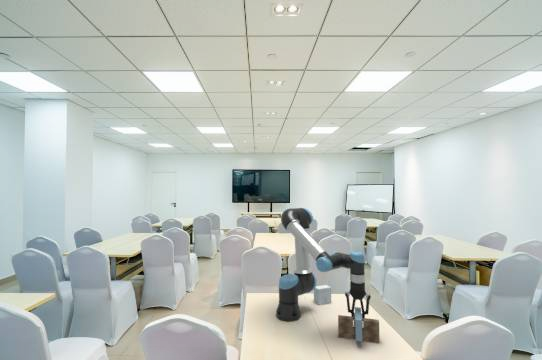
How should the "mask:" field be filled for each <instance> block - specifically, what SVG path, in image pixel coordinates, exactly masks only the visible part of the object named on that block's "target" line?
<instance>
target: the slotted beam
mask: <svg viewBox="0 0 542 360" xmlns="http://www.w3.org/2000/svg"><path fill="white" fill-rule="evenodd" d="M337 315H338V316H337V324H338V325H337V328H338V329H337V333H338V335H337V336H338V338H343V339H349V340H355V341H356V327H354V320H353V317H351V316H350V315H349V316H348V315H342V314H337ZM363 341H364V342H369V343H376V344H380V320H379V319H374V318H366V317H365V318H363V328H362V342H363Z"/></svg>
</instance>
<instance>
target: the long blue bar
mask: <svg viewBox="0 0 542 360" xmlns="http://www.w3.org/2000/svg"><path fill="white" fill-rule="evenodd" d="M354 313H355V327H356V340H355V341H356V342H361V343H362V342H363V341H362V315H361V313H362V309H361V307H357V306H355V308H354Z"/></svg>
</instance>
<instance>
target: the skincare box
mask: <svg viewBox="0 0 542 360" xmlns="http://www.w3.org/2000/svg"><path fill="white" fill-rule="evenodd" d="M313 303H315V304H317V305H318V306H321V305H327V304H331V303H332V287H331V286H329V285H327V284H323V285H316V287H315V289H314V290H313Z"/></svg>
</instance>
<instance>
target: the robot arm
mask: <svg viewBox="0 0 542 360" xmlns="http://www.w3.org/2000/svg"><path fill="white" fill-rule="evenodd" d="M313 221H314V219H313V214H312V212H311V211H310V210H309V209H308V208H305V207H297V208H296V207H294V208H287V209H285V210H283V212H282V213H281V216H280V222H281V225H282V227H283V229H285V230H286V232H288V233H291V235H292V236H293V237H294V246H295V247H294V249H295V251H294V252H295V267H296V268H295V269H294V273H293V274H292V273H289V274H284V275H282V276H281V277H279V280H278V304H277V307H276V311H275V316H276V318H277V319H278V320H281V321H284V322H294V321H298V320H301V317H302V312H301V308H300V305H299V296H302V295H305V294H308V293H311V292H314V289H315V287H316V286H317V277H316V275H315V274H314V273H313V270H312V269H311V268H310V257H312V258H313V259H314V260H315V266H316V268H317V270H318V271H319V272H321V273H327V272H331V271H333V270H338V269H340V268H343V269H344V268H345V269H349V280H350V282H349V283H350V284H349V291H345V292H344V295H345V296H344V297H345V299H346V305H347V313H350V314H351V317H353V327H355V307H356V302H357V300H358V301H360V302H359V303H360V308H361V315H362V328H363V318H366V317H365V315H369V310H370V300H371V298H372V296H371V294H370V293H369V294H368V293H367V292H366V283H365V281H366V273H365V272H366V271H365V262H366V261H365V254H364V253H363V252H361V251H350V252H349V254H348V253H342V252H337V251H334V252H332V253H331V254H329V253H328V252H327V251H326V250H325V249H324V248H323V247H322V246H321V245H320V244H319V243H318V242H317V241H316V240H315V239H314V237H312V235H311V234H310V233H309V230H310V226H311V224H312V223H313ZM350 296H351V297H352V304H351V303H350ZM364 298H366V303H365V308H364V301H363V300H364ZM350 304H351V305H350Z"/></svg>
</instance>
